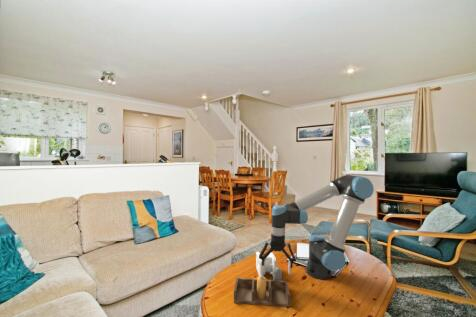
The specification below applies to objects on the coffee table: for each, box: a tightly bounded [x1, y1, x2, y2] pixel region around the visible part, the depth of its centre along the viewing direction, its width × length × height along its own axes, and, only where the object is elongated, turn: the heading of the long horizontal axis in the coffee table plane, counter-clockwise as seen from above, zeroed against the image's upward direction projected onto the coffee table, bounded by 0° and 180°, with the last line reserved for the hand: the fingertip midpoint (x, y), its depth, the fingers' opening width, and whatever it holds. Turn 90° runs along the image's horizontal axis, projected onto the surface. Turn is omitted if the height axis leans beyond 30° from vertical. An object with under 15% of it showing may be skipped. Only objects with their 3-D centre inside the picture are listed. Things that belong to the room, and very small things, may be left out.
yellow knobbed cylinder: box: [256, 275, 267, 299], centre depth 110 cm, size 5×5×10 cm
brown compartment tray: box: [233, 277, 291, 308], centre depth 112 cm, size 27×12×6 cm, turn 85°
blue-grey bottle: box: [272, 267, 283, 281], centre depth 121 cm, size 5×5×10 cm
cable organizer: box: [255, 251, 278, 277], centre depth 135 cm, size 15×11×12 cm
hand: (276, 272), depth 121 cm, fingers open, 13 cm apart
